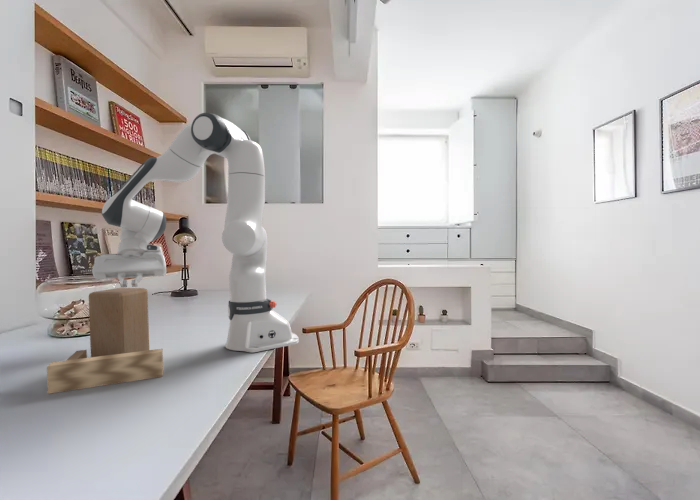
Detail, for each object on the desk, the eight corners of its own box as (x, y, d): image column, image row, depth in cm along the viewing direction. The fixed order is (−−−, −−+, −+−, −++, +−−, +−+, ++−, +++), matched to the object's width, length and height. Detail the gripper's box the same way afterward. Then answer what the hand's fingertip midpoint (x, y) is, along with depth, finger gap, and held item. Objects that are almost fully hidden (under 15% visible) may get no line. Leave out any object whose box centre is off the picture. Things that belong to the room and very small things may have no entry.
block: (121, 371, 90) (119, 292, 89) (89, 368, 92) (86, 292, 91) (151, 358, 100) (149, 287, 99) (121, 356, 102) (119, 287, 101)
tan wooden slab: (165, 362, 96) (165, 340, 95) (162, 376, 86) (161, 352, 85) (65, 376, 87) (64, 352, 87) (48, 393, 77) (46, 366, 77)
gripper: (93, 247, 112) (86, 281, 103) (166, 246, 120) (164, 277, 111) (97, 261, 116) (90, 294, 107) (167, 259, 124) (166, 290, 116)
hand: (129, 286), depth 109 cm, fingers closed
